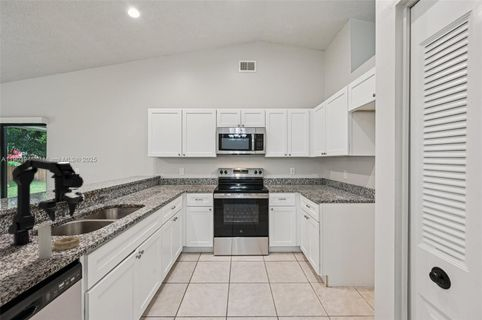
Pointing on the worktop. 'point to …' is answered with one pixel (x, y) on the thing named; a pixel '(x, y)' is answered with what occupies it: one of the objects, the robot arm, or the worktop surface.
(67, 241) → the tan open ring
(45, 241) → the dowel
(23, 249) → the worktop surface
